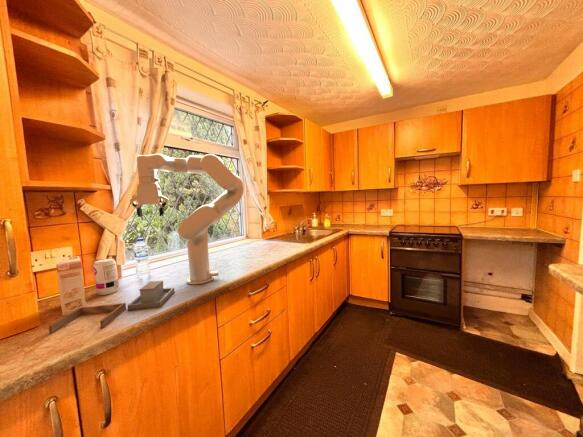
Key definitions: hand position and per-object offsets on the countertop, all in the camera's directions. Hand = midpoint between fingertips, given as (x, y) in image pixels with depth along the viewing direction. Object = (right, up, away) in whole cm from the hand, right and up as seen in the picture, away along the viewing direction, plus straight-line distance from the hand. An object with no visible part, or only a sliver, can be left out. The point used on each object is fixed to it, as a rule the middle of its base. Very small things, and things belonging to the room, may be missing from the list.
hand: (151, 216), depth 118 cm
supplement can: (-15, -36, -8) cm, 39 cm away
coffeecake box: (-17, -37, -23) cm, 47 cm away
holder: (0, -37, -35) cm, 50 cm away
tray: (+13, -35, -20) cm, 42 cm away
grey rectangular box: (+13, -34, -20) cm, 42 cm away
